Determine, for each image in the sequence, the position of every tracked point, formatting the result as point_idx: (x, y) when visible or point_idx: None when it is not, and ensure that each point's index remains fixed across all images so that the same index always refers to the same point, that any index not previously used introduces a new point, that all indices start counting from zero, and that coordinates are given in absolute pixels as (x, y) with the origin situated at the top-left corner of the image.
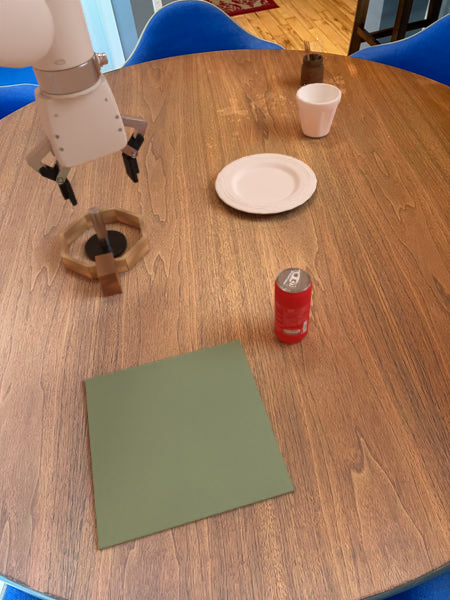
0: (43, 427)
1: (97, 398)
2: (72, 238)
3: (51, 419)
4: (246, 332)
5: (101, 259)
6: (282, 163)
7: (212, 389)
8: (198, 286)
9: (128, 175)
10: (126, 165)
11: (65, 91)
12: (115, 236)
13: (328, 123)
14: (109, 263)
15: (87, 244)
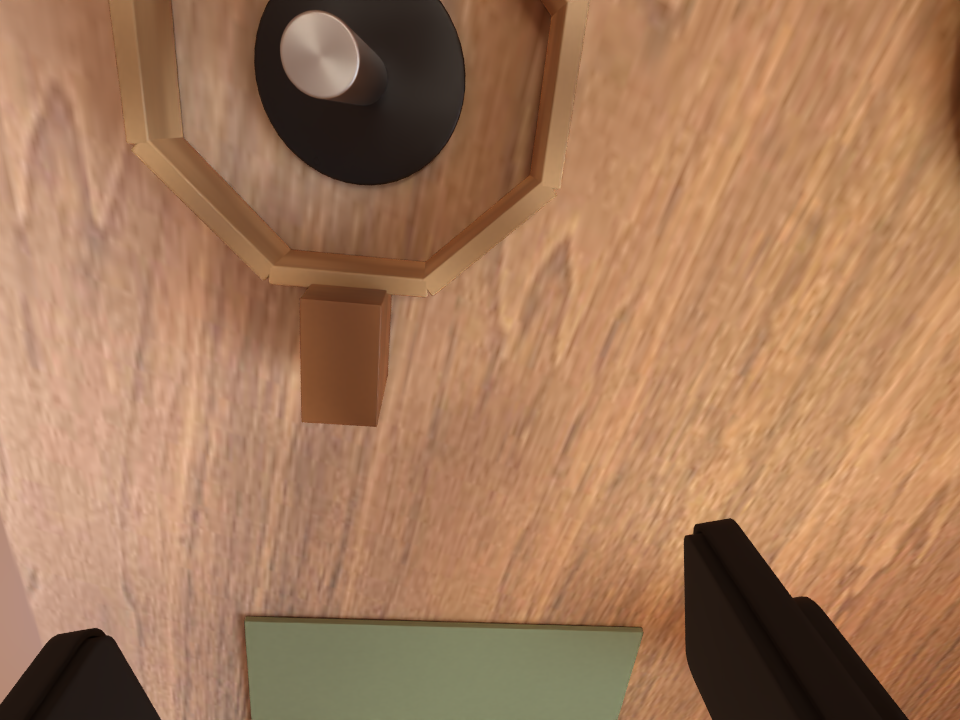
0: (145, 683)
1: (274, 669)
2: None
3: (163, 673)
4: (668, 612)
5: (328, 332)
6: None
7: (529, 711)
8: (631, 439)
9: (689, 578)
10: (752, 710)
11: None
12: (417, 41)
13: None
14: (360, 370)
15: (270, 36)
